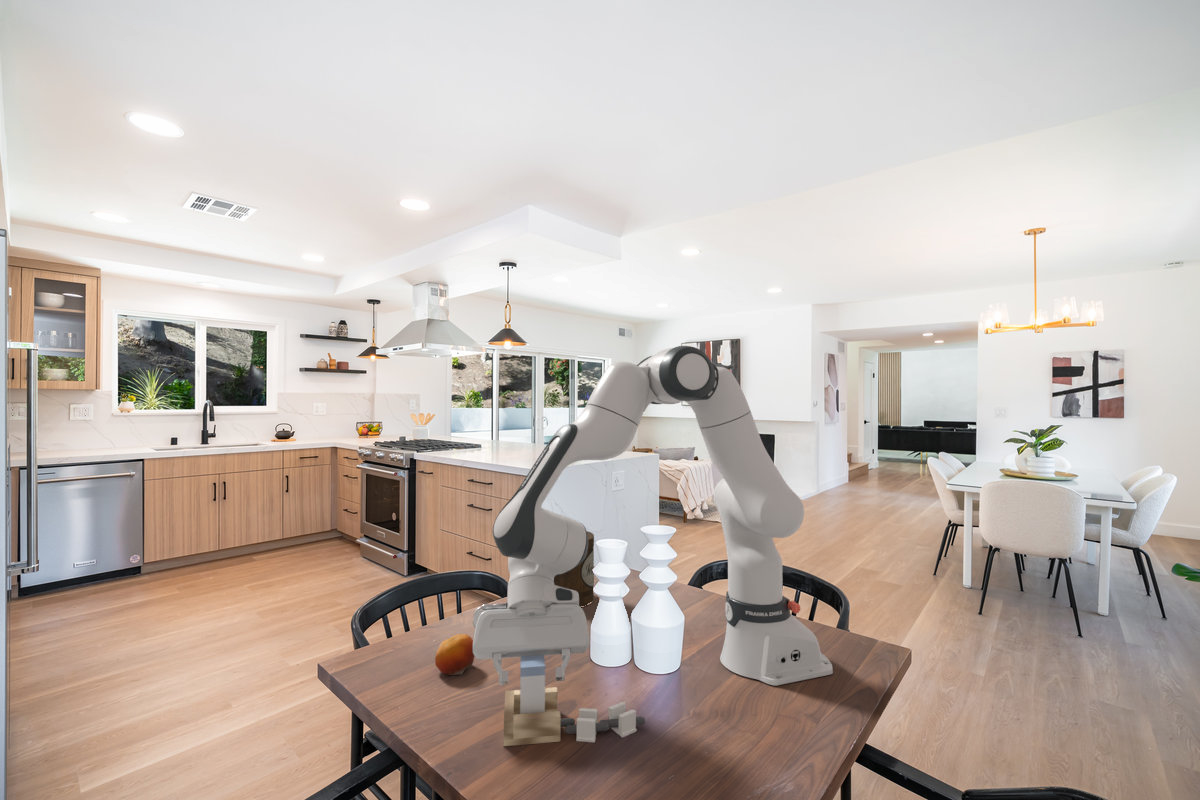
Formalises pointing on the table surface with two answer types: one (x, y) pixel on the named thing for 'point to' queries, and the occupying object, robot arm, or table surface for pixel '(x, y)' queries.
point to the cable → (600, 726)
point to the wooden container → (581, 576)
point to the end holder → (531, 720)
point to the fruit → (455, 655)
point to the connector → (532, 684)
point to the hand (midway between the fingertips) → (532, 681)
